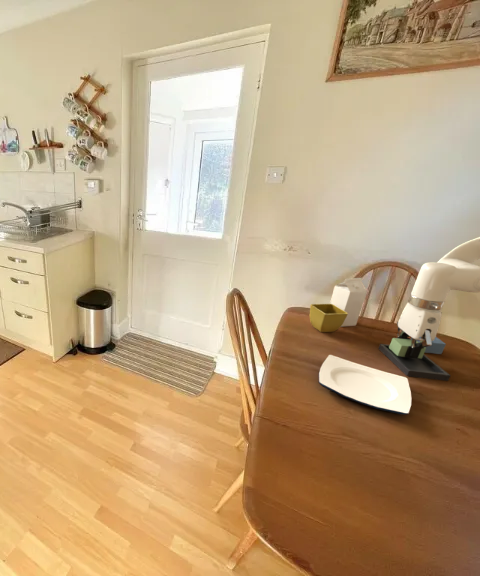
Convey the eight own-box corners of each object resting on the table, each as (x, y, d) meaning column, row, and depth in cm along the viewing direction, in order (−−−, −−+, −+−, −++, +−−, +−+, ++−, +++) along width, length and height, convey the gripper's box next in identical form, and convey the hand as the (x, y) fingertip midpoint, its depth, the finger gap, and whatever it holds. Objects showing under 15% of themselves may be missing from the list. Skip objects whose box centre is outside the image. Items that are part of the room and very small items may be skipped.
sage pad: (411, 350, 104) (416, 340, 103) (421, 358, 100) (426, 348, 99) (388, 347, 106) (392, 337, 105) (397, 356, 102) (401, 345, 100)
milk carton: (325, 318, 130) (337, 276, 123) (341, 317, 131) (353, 275, 124) (339, 327, 123) (353, 282, 116) (356, 325, 124) (370, 281, 117)
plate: (408, 385, 91) (411, 377, 90) (409, 426, 77) (413, 418, 76) (324, 358, 104) (326, 352, 103) (312, 390, 90) (314, 382, 89)
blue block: (430, 346, 109) (435, 336, 108) (441, 354, 105) (446, 343, 103) (408, 344, 111) (412, 334, 109) (418, 351, 106) (422, 341, 105)
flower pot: (342, 334, 118) (349, 313, 115) (319, 335, 118) (325, 314, 114) (326, 323, 126) (331, 303, 123) (304, 324, 126) (309, 304, 123)
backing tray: (413, 352, 106) (415, 347, 106) (448, 380, 92) (450, 375, 92) (378, 348, 109) (380, 343, 108) (406, 376, 95) (409, 370, 94)
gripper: (462, 315, 88) (438, 369, 94) (421, 293, 103) (402, 340, 110) (430, 313, 90) (408, 366, 96) (394, 291, 105) (377, 338, 111)
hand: (405, 352), depth 103 cm, fingers closed on sage pad, 5 cm apart
